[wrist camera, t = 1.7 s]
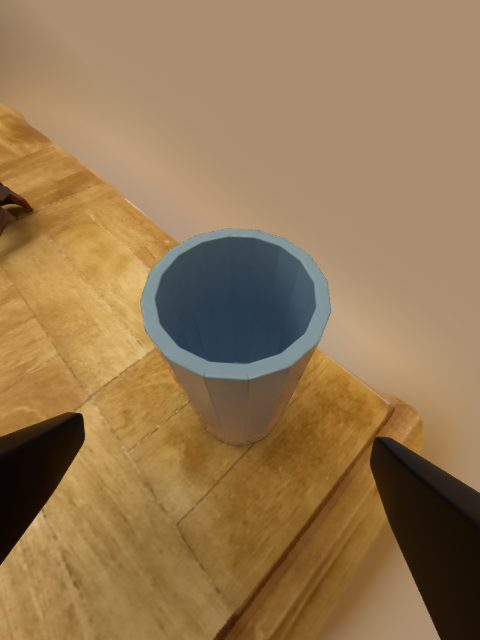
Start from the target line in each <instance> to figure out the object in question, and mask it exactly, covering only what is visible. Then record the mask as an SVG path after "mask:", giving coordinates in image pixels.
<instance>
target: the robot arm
mask: <svg viewBox="0 0 480 640" xmlns="http://www.w3.org/2000/svg"><path fill="white" fill-rule="evenodd" d="M84 440H85V431H84V420H83V415H82V414H81V413H74V412H67V413H64V414H61V415H59V416H56V417H53V418H50V419H48V420H45V421H42V422H40V423H37V424H34V425H32V426H29V427H26V428H23V429H21V430H18V431H15V432H13V433H10V434H7V435H4V436H2V437H0V565H1V564H2V562H3V561H4V560H5V558H6V557H7V556H8V554H9V553H10V552H11V550H12V549H13V547H14V546H15V545H16V543H17V542H18V541H19V539H20V538H21V536H22V535H23V534H24V532H25V531H26V530H27V528H28V527H29V526H30V524H31V523H32V521H33V520H34V519H35V517H36V516H37V515H38V513H39V512H40V510H41V509H42V508H43V506H44V505H45V504H46V502H47V501H48V499H49V498H50V497H51V495H52V494H53V492H54V491H55V489H56V488H57V486H58V484H59V483H60V481H61V480H62V478H63V476H64V475H65V473H66V471H67V470H68V468H69V466H70V465H71V463H72V461H73V460H74V458H75V457H76V455H77V453H78V452H79V450H80V448H81V447H82V445H83V443H84ZM370 467H371V470H372V473H373V476H374V479H375V482H376V485H377V488H378V491H379V494H380V497H381V500H382V503H383V506H384V509H385V512H386V515H387V518H388V521H389V523H390V526H391V528H392V530H393V533H394V535H395V538H396V540H397V542H398V544H399V547H400V549H401V551H402V553H403V556H404V558H405V560H406V562H407V565H408V567H409V569H410V571H411V573H412V576H413V578H414V580H415V583H416V585H417V587H418V590H419V592H420V594H421V596H422V599H423V601H424V603H425V605H426V607H427V610H428V612H429V614H430V617H431V619H432V621H433V623H434V625H435V628H436V630H437V632H438V635H439V637H440V639H441V640H480V493H479V492H477V491H476V490H474V489H472V488H471V487H469V486H468V485H466V484H464V483H463V482H461V481H460V480H458V479H456V478H455V477H453V476H452V475H450V474H448V473H447V472H445V471H443V470H442V469H440V468H438V467H437V466H435V465H434V464H432V463H430V462H429V461H427V460H426V459H424V458H423V457H421V456H419V455H418V454H416V453H414V452H413V451H411V450H410V449H408V448H406V447H405V446H403V445H402V444H400V443H398V442H397V441H395V440H393V439H392V438H389V437H376V438H375V439H374V441H373V447H372V452H371V458H370Z"/></svg>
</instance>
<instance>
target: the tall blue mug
mask: <svg viewBox="0 0 480 640" xmlns="http://www.w3.org/2000/svg"><path fill="white" fill-rule="evenodd" d="M140 302H141V309H142V315H143V321H144V328H145V331H146V333H147V335H148V336H149V338H150V340H151V341H152V343H153V345H154V346H155V348H156V350H157V351H158V353H159V355H160V356H161V358H162V359H163V361H164V363H165V364H166V366H167V368H168V369H169V371H170V373H171V374H172V376H173V378H174V379H175V381H176V382H177V384H178V386H179V387H180V389H181V391H182V392H183V394H184V396H185V397H186V399H187V401H188V402H189V404H190V405H191V407H192V409H193V410H194V412H195V414H196V415H197V417H198V419H199V420H200V422H201V423H202V424H203V426H204V427H205V429H206V430H207V431H208V432H209V433H210V434H211V435H212V436H213V437H215V438H216V439H218V440H220V441H222V442H224V443H228V444H232V445H247V444H251V443H254V442H257V441H259V440H261V439H262V438H264V437H265V436H266V435H268V434H269V433H270V432H271V430H272V429H273V428H274V427H275V426H276V425H277V423H278V421H279V419H280V417H281V415H282V413H283V411H284V409H285V407H286V405H287V404H288V402H289V400H290V398H291V396H292V394H293V392H294V390H295V388H296V386H297V384H298V382H299V380H300V378H301V376H302V374H303V372H304V371H305V369H306V367H307V365H308V363H309V361H310V359H311V357H312V355H313V353H314V351H315V349H316V347H317V345H318V343H319V341H320V339H321V337H322V334H323V331H324V329H325V326H326V324H327V321H328V319H329V316H330V313H331V304H330V297H329V289H328V282H327V280H326V278H325V276H324V275H323V273H322V272H321V270H320V269H319V267H318V266H317V264H316V263H315V261H314V260H313V258H312V257H311V256H310V255H309V254H307V253H306V252H305V251H303V250H302V249H300V248H299V247H297V246H296V245H295V244H293V243H292V242H290V241H289V240H286V239H285V238H282V237H279V236H276V235H272V234H269V233H266V232H263V231H260V230H258V231H257V230H253V229H230V228H229V229H222V230H218V231H213V232H209V233H204V234H200V235H197V236H194V237H192V238H190V239H189V240H187V241H185V242H183V243H181V244H179V245H178V246H176V247H174V248H172V249H171V250H169V251H168V252H167V253H166V255H165V256H164V257H163V258H162V259H161V260H160V261H159V262H158V263H157V264H156V265H155V267H154V268H153V269H152V270H151V272H150V273H149V276H148V278H147V281H146V284H145V287H144V290H143V293H142V296H141V301H140Z"/></svg>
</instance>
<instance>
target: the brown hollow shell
mask: <svg viewBox="0 0 480 640" xmlns="http://www.w3.org/2000/svg"><path fill="white" fill-rule="evenodd" d="M7 204H16V205H19V206H22V207H24V208H26V209H28V210H29V211H32V210H33V209H32V208H31V207H30V205H29V204H28V202H27V201H26V200H25V199H24V198H23V197H21V196H20V195H18V194H16V193H14V192H13V191H11V190H10V189H9V188H8V187H5V186H3V184H2V183H0V235H1V233H2V231H3V230H4V228H5V226H6V225H7V224H8V223H10V222H14V221H16V220H18V218H16V217H15V216H13V215H12V214H10V213H9V212H8V211H7V210H5V209H4V208H2V207H1V206H4V205H7Z"/></svg>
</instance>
